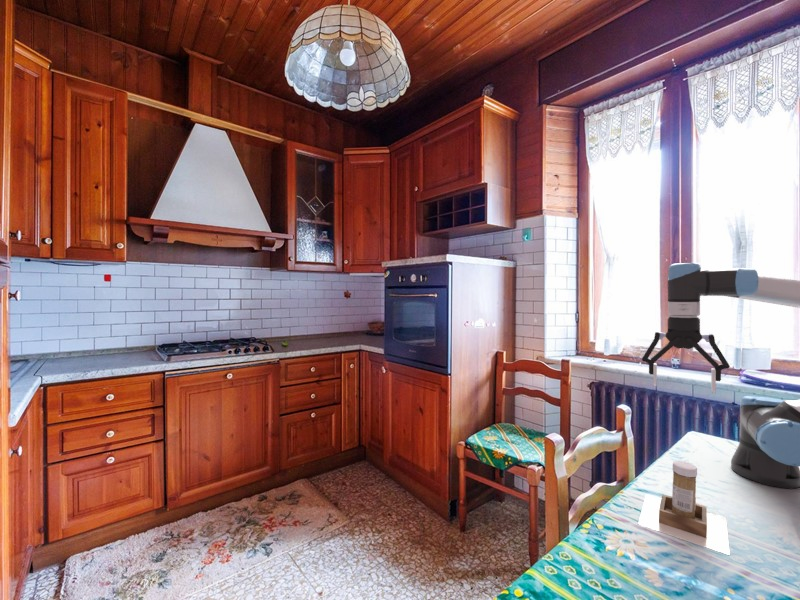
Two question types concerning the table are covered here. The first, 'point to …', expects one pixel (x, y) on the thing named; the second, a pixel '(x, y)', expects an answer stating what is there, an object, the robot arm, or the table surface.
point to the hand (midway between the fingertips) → (683, 388)
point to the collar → (683, 518)
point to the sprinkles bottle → (684, 489)
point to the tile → (713, 540)
